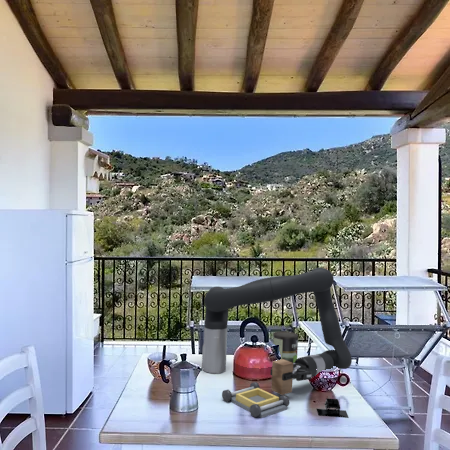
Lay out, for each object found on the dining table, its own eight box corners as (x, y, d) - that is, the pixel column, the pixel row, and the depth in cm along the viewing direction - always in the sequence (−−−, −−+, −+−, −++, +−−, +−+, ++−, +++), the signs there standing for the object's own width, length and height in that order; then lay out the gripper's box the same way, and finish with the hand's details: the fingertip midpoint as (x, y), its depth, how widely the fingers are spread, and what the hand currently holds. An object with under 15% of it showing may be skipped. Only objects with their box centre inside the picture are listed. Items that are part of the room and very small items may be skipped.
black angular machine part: (313, 418, 136) (313, 403, 136) (311, 408, 143) (311, 394, 143) (354, 421, 135) (354, 406, 135) (349, 411, 142) (350, 397, 142)
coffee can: (300, 366, 184) (301, 333, 184) (293, 373, 174) (294, 338, 174) (276, 362, 188) (277, 329, 188) (268, 369, 179) (269, 335, 179)
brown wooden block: (271, 390, 151) (272, 361, 151) (281, 387, 154) (282, 359, 154) (281, 395, 147) (283, 365, 147) (292, 391, 150) (293, 363, 150)
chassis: (221, 399, 147) (221, 388, 147) (252, 390, 155) (252, 380, 155) (257, 419, 132) (258, 407, 132) (289, 408, 141) (290, 397, 141)
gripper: (295, 351, 165) (262, 358, 155) (326, 361, 154) (293, 370, 143) (294, 370, 165) (262, 379, 155) (325, 382, 154) (292, 392, 143)
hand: (277, 374), depth 149 cm, fingers closed on brown wooden block, 5 cm apart
